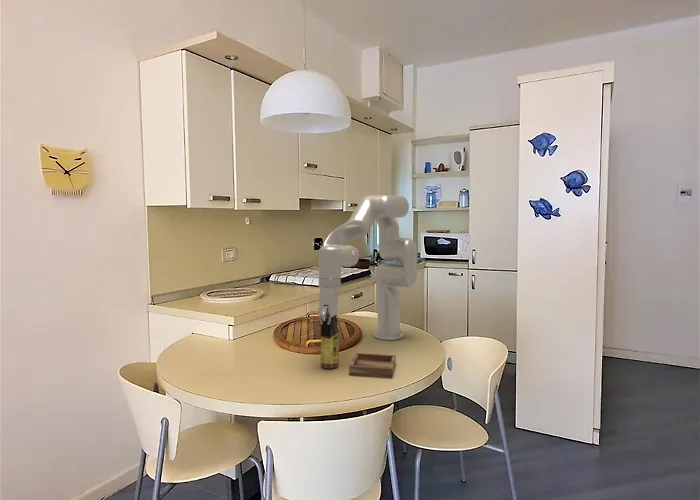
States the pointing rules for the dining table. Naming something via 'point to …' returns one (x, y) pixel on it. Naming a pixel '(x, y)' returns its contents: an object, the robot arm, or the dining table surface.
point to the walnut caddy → (372, 365)
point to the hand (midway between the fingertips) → (329, 332)
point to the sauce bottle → (330, 347)
